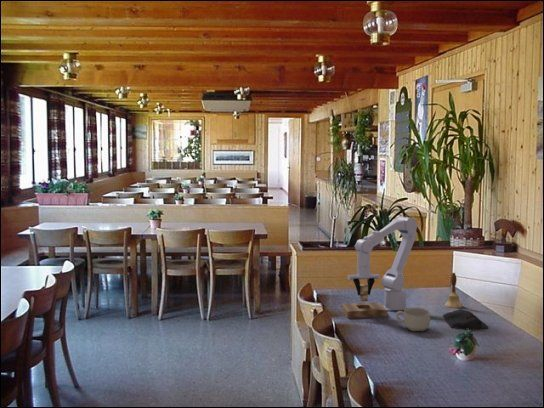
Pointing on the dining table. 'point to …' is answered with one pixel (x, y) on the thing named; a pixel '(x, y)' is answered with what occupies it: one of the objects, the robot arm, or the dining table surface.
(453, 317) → the dark slate chunk
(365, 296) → the peg
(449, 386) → the dining table surface
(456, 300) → the hand bell
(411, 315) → the teacup
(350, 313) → the board
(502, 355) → the dining table surface
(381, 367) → the dining table surface
